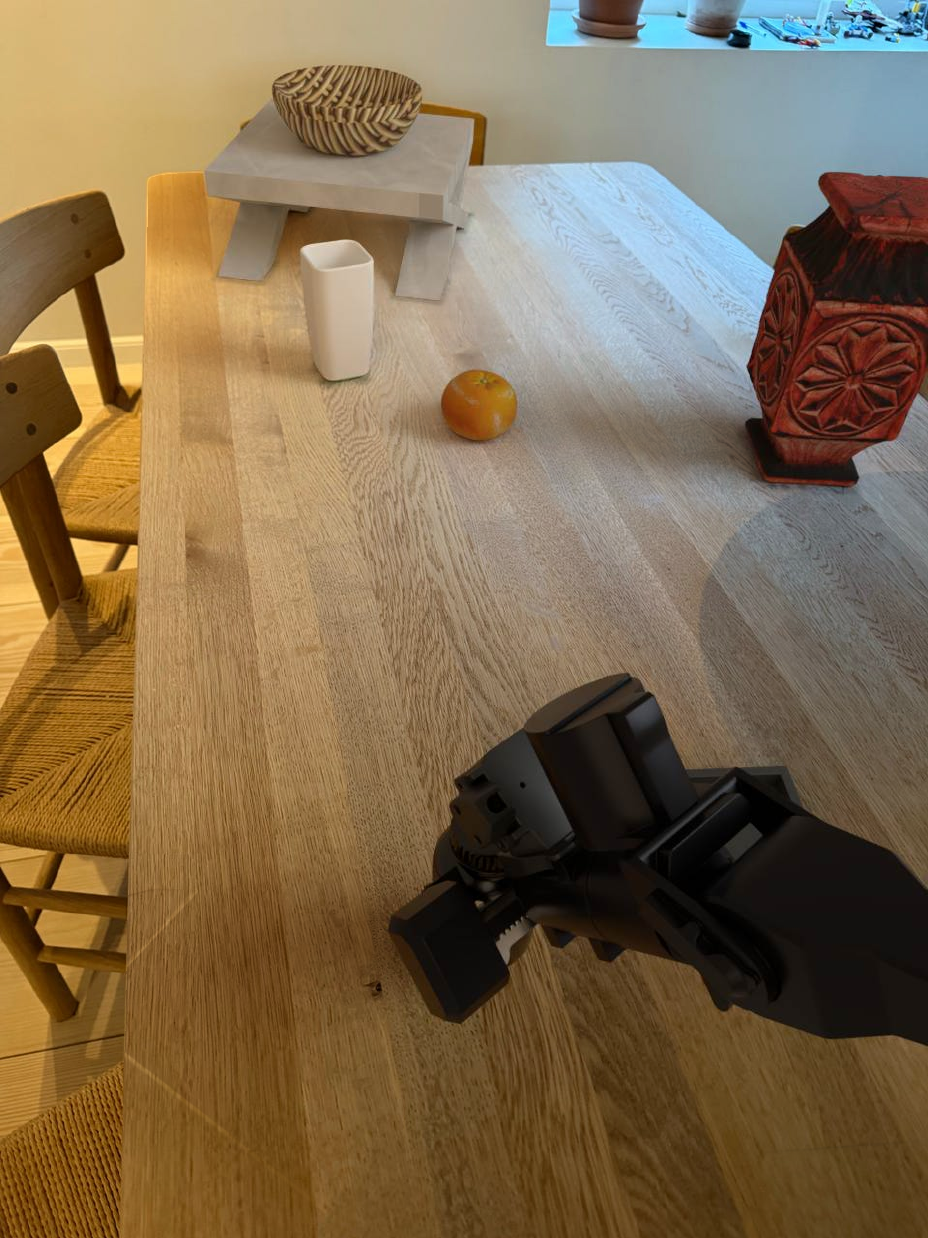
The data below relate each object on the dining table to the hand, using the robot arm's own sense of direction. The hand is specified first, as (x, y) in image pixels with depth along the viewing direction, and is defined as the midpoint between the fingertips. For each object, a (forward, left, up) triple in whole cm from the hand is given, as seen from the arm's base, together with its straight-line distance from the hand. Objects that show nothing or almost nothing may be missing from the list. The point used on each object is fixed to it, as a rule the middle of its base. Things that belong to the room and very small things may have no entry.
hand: (472, 859), depth 60 cm
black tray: (+11, -18, -9) cm, 23 cm away
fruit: (+61, +12, -9) cm, 63 cm away
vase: (+66, -25, -9) cm, 71 cm away
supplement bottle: (-1, -1, -7) cm, 7 cm away
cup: (+69, +31, -9) cm, 76 cm away
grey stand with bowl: (+106, +41, -9) cm, 114 cm away
